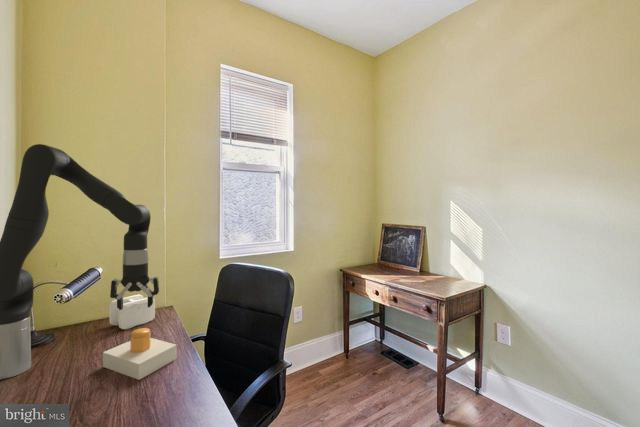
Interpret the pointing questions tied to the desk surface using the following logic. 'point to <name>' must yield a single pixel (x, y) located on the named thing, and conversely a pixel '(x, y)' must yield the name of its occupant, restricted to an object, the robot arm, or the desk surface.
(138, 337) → the orange lidded jar
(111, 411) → the desk surface
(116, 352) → the box
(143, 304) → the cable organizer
